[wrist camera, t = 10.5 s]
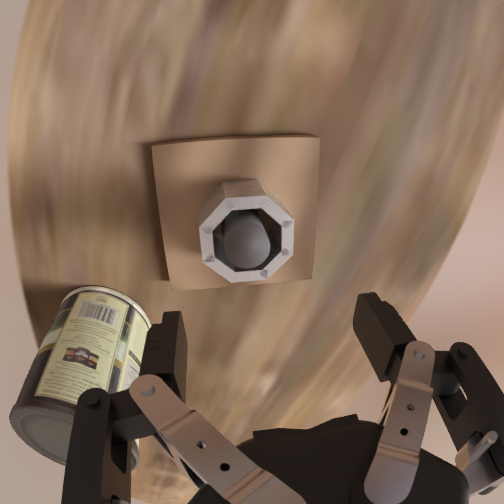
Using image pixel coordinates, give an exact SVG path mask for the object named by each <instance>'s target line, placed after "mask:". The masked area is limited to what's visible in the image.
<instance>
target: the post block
mask: <svg viewBox="0 0 504 504" xmlns="http://www.w3.org/2000/svg"><path fill="white" fill-rule="evenodd" d="M151 147H152V157H153V167H154V176H155V185H156V193H157V201H158V208H159V216H160V223H161V230H162V236H163V243H164V249H165V255H166V261H167V267H168V273H169V279H170V284H171V290H172V291H177V290H191V289H205V288H217V287H230V286H242V285H253V284H264V283H275V282H286V281H296V280H306V279H312V272H313V260H314V248H315V234H316V219H317V202H318V182H319V157H320V137H317V136H315V135H256V136H232V137H215V138H201V139H189V140H178V141H168V142H159V143H154V144H153V145H152V146H151ZM246 179H258V180H259V181H260V182H261V183H262V184H264V185H265V186H266V187H267V188H268V189H269V190H270V191H271V192H273V193H274V194H275V195H276V196H277V197H278V198H279V199H280V200H281V201H282V202H283V204H284V205H285V207H286V208H287V210H288V211H289V213H290V214H291V216H292V218H293V219H294V244H293V255H292V256H291V257H290V258H289V259H288V260H287V261H286V262H285V263H284V264H283V265H282V266H281V267H280V268H279V269H278V270H277V271H276V272H275V273H274V274H272V275H271V276H270V277H269V278H268V279H266V280H256V281H245V282H234V283H231V282H229V281H228V280H227V279H225V278H224V277H222V276H221V275H220V274H218V273H217V272H215V271H214V270H213V269H211V268H210V267H208V266H207V265H206V264H204V263H203V260H202V251H201V242H200V233H199V217H200V206H201V205H202V204H203V202H204V201H205V200H206V199H207V198H208V197H209V196H210V195H211V194H212V192H213V191H214V190H215V189H216V188H217V187H218V186H219V185H220V184H221V182H222V181H231V180H246ZM270 228H271V216H270V215H269V214H268V213H266V212H265V211H264V210H263V209H262V208H257V209H242V210H232V211H231V212H230V213H229V214H228V215H227V216H226V217H225V218H224V219H223V220H222V221H221V222H220V223H219V225H218V226H217V227H216V228H215V229H214V230H213V232H214V233H215V234H217V235H218V236H219V237H221V238H222V239H223V240H224V248H225V254H226V257H227V259H228V260H229V262H230V263H232V264H233V265H234V266H236V267H239V268H245V269H247V268H253V267H256V266H258V265H260V264H261V263H263V262H264V261H265V260H266V258H267V257H268V255H269V252H270V242H269V239H268V236H267V234H266V232H267V231H268V230H269V229H270Z"/></svg>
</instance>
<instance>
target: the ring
mask: <svg viewBox="0 0 504 504" xmlns="http://www.w3.org/2000/svg"><path fill="white" fill-rule="evenodd" d="M257 208H262V209H263V210H264V211H265V212H266V213H268V214H269V215H270V216H271V228H270V229H269V230H268V231H267V232H266V234H267V236H268V239H269V242H270V252H269V255H268V257H267V258H266V260H265V261H264V262H263V263H261V264H260V265H258V266H256V267H253V268H247V269H245V268H239V267H236V266H234V265H233V264H232V263H230V262H229V260H228V259H227V257H226V254H225V248H224V240H223V239H222V238H221V237H219V236H218V235H217V234H215V233H214V232H213V230H214V229H215V228H216V227H217V226H218V225H219V223H220V222H221V221H222V220H223V219H224V218H225V217H226V216H227V215H228V214H229V213H230V212H231V211H232V210H242V209H257ZM199 233H200V242H201V251H202V260H203V263H204V264H206V265H207V266H208V267H210V268H211V269H213V270H214V271H215V272H217V273H218V274H220V275H221V276H222V277H224V278H225V279H227V280H228V281H229V282H231V283H234V282H245V281H256V280H266V279H268V278H269V277H270V276H271V275H272V274H274V273H275V272H276V271H277V270H278V269H279V268H280V267H281V266H282V265H283V264H284V263H285V262H286V261H287V260H288V259H289V258H290V257H291V256H292V255H293V244H294V219H293V218H292V216H291V214H290V213H289V211H288V210H287V208H286V207H285V205H284V204H283V202H282V201H281V200H280V199H279V198H278V197H277V196H276V195H275V194H274V193H273V192H271V191H270V190H269V189H268V188H267V187H266V186H265V185H264V184H262V183H261V182H260V181H259V180H258V179H246V180H231V181H222V182H221V184H220V185H219V186H218V187H217V188H216V189H215V190H214V191H213V192H212V194H211V195H210V196H209V197H208V198H207V199H206V200H205V201H204V202H203V204H202V205H201V206H200V217H199Z"/></svg>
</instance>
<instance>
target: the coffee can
mask: <svg viewBox="0 0 504 504" xmlns="http://www.w3.org/2000/svg"><path fill="white" fill-rule="evenodd" d="M150 327H151V324H150V321H149V319H148V317H147V316H146V314H145V313H144V311H143V310H142V309H141V307H140V306H139V305H138V304H136V303H135V302H134V301H133V300H132V299H130V298H129V297H127V296H126V295H124V294H122V293H120V292H117V291H115V290H112V289H109V288H105V287H100V286H87V287H81V288H78V289H75V290H73V291H72V292H70V293H69V294H68V295H67V296H66V297H65V298H64V299H63V301H62V303H61V305H60V308H59V310H58V312H57V314H56V316H55V318H54V320H53V322H52V324H51V326H50V328H49V330H48V332H47V334H46V336H45V338H44V340H43V342H42V344H41V346H40V348H39V351H38V353H37V355H36V357H35V359H34V361H33V364H32V366H31V368H30V370H29V373H28V375H27V377H26V379H25V382H24V384H23V387H22V389H21V392H20V395H19V397H18V399H17V402H16V404H15V405H14V406H13V408H12V410H11V412H10V416H9V418H10V423H11V426H12V428H13V429H14V431H15V432H16V433H17V434H18V436H19V437H20V438H21V439H22V440H23V441H24V442H25V443H26V444H27V445H29V446H30V447H31V448H33V449H34V450H35V451H37V452H39V453H40V454H42V455H43V456H45V457H47V458H49V459H51V460H53V461H55V462H57V463H59V464H62V465H64V466H66V460H67V454H68V448H69V442H70V436H71V430H72V425H73V420H74V415H75V410H76V406H77V401H78V398H79V396H80V395H81V394H82V393H83V392H84V391H86V390H87V389H90V388H102V389H104V390H105V391H107V392H108V394H112V393H116V392H119V391H123V390H126V389H128V388H129V387H130V385H131V383H132V382H133V381H134V380H135V379H136V378H138V376H139V371H140V366H141V360H142V355H143V350H144V345H145V340H146V335H147V331H148V330H149V329H150ZM138 446H139V439H135V440H132V452H131V471H133V470H134V469H136V468H137V466H138V464H139V451H138Z"/></svg>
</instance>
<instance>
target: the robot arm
mask: <svg viewBox="0 0 504 504" xmlns="http://www.w3.org/2000/svg"><path fill="white" fill-rule="evenodd" d="M353 328H354V332H355V334H356V336H357V337H358V339H359V341H360V343H361V345H362V347H363V349H364V351H365V353H366V355H367V357H368V359H369V361H370V363H371V365H372V367H373V369H374V371H375V373H376V374H377V376H378V379H379V381H380V382H384V381H388V380H389V381H390V383H391V385H390V388H389V390H388V394H387V396H386V399H385V402H384V405H383V408H382V411H381V414H380V417H379V420H378V422H377V423H374V422H370V421H362V420H358V417H357V414H352V415H348V416H344V417H339V418H334V419H331V420H329V421H327V422H324V423H322V424H320V425H318V426H315V427H313V428H311V429H287V428H276V429H268V430H259V431H253V438H252V439H249V440H247V441H244V442H242V443H241V444H239V445H237V446H236V447H235V446H234V445H233V444H232V443H231V442H230V441H229V440H227V439H226V438H225V437H224V436H223V435H222V434H221V433H220V432H219V431H218V430H217V429H216V428H215V427H214V426H212V425H211V424H210V423H209V422H208V421H207V420H206V419H205V418H204V417H203V416H202V415H201V414H200V413H199V412H198V411H196V410H193V411H191V410H190V409H189V408H188V407H187V406H186V405H185V396H186V369H187V338H186V333H185V328H184V323H183V318H182V314H181V311H170V312H164V313H163V318H162V324H153V325H152V326H151V327H150V329H149V330H148V331H147V335H146V340H145V345H144V350H143V355H142V360H141V366H140V371H139V376H138V378H136V379H135V380H134V381H133V382H132V383H131V385H130V387H129V388H128V389H126V390H123V391H119V392H116V393H112V394H108V392H107V391H105V390H104V389H102V388H90V389H87V390H86V391H84V392H83V393H82V394H81V395H80V396H79V398H78V401H77V406H76V410H75V415H74V420H73V425H72V430H71V436H70V442H69V448H68V454H67V460H66V467H65V475H64V483H63V492H62V502H61V504H131V452H132V440H135V439H139V438H143V437H147V436H150V435H152V436H153V437H154V438H155V439H156V441H157V442H158V443H159V444H160V445H161V447H162V448H163V449H164V450H165V451H166V453H167V454H168V455H169V456H170V457H171V458H172V460H173V461H174V462H175V463H176V464H177V466H178V467H179V468H180V470H181V471H182V472H183V473H184V475H185V476H186V477H187V478H188V479H189V480H190V481H191V482H192V483H193V484H194V486H195V487H196V488H197V489H198V490H199V491H198V492H197V493H196V494H195V495H194V497H193V498H192V499H191V500H190V501H189V503H188V504H469V498H471V497H473V496H474V495H476V494H480V495H485V494H488V493H490V492H491V491H493V490H494V489H495V488H497V487H498V486H499V485H501V484H502V483H503V482H504V394H503V392H502V391H501V389H500V387H499V386H498V384H497V383H496V381H495V379H494V378H493V376H492V375H491V373H490V372H489V370H488V369H487V367H486V366H485V364H484V363H483V361H482V360H481V358H480V357H479V356H478V354H477V352H476V351H475V350H474V348H472V346H470V345H469V344H467V343H464V342H457V343H454V344H453V345H452V346H451V348H450V350H449V351H434V349H433V348H432V347H431V346H430V345H429V344H427V343H425V342H422V341H417V339H416V338H415V337H414V335H413V334H412V332H411V331H410V329H409V328H408V326H407V325H406V324H405V322H404V321H403V319H402V318H401V316H399V314H398V312H397V311H396V309H395V308H394V307H393V306H392V305H390V304H389V303H387V302H386V301H381V300H380V298H379V297H378V295H377V294H376V293H375V292H370V293H363V294H359V295H358V297H357V302H356V307H355V312H354V317H353ZM460 386H461V387H462V388H463V390H464V392H465V394H466V396H467V400H466V398H465V397H464V395H463V393H462V391H461V389H460ZM432 398H433V400H434V402H435V404H436V406H437V408H438V411H439V413H440V415H441V417H442V419H443V421H444V423H445V425H446V427H447V430H448V432H449V434H450V436H451V438H452V441H453V443H454V445H455V447H456V449H457V452H458V453H457V455H456V459H455V461H456V466H453V465H452V464H450V463H448V462H446V461H444V460H442V459H441V458H439V457H437V456H435V455H433V454H431V453H429V452H428V451H426V450H424V449H422V448H421V444H422V440H423V436H424V432H425V428H426V423H427V419H428V414H429V410H430V404H431V399H432Z"/></svg>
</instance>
